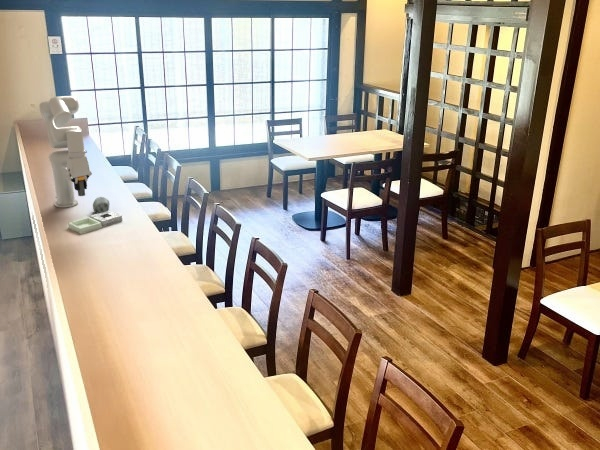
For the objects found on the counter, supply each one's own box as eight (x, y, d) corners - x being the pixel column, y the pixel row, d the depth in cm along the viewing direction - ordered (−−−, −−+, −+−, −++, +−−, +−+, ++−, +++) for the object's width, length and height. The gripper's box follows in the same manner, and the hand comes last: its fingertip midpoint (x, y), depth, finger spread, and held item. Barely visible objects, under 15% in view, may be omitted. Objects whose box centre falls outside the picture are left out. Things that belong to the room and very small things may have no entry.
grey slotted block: (90, 221, 304) (89, 215, 302) (109, 215, 312) (109, 210, 311) (102, 226, 296) (101, 221, 295) (122, 220, 305) (121, 215, 304)
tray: (68, 227, 294) (67, 222, 293) (89, 221, 302) (88, 217, 301) (80, 233, 286) (80, 228, 285) (101, 227, 295) (101, 222, 294)
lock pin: (75, 195, 288) (72, 176, 284) (83, 193, 291) (81, 174, 287) (80, 197, 285) (77, 178, 281) (88, 195, 288) (86, 176, 285)
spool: (112, 210, 311) (102, 194, 308) (97, 219, 309) (87, 203, 307) (115, 207, 324) (105, 193, 322) (100, 216, 323) (90, 201, 320)
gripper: (87, 150, 288) (91, 184, 295) (57, 155, 277) (62, 191, 283) (95, 152, 284) (99, 187, 291) (65, 158, 272) (69, 194, 279)
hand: (81, 189), depth 287 cm, fingers closed on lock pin, 3 cm apart
